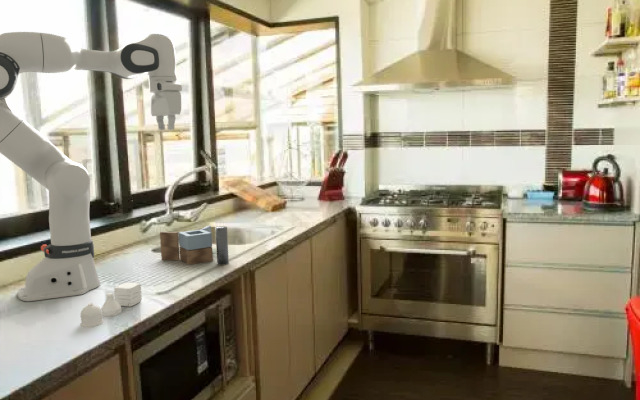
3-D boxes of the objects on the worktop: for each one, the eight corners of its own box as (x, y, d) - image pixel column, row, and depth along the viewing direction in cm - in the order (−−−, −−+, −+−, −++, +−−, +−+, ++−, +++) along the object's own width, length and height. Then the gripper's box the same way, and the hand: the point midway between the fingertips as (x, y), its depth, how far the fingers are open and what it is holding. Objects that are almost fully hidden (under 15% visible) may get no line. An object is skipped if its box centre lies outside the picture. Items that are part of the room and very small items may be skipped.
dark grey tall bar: (220, 265, 182) (218, 228, 181) (215, 263, 186) (213, 227, 184) (230, 263, 185) (228, 227, 183) (225, 261, 188) (224, 225, 186)
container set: (126, 300, 147) (124, 282, 146) (142, 302, 146) (141, 283, 145) (75, 327, 128) (74, 305, 127) (93, 329, 126) (92, 307, 126)
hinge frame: (174, 267, 181) (172, 238, 179) (160, 259, 192) (159, 232, 191) (212, 260, 189) (211, 233, 187) (198, 253, 200) (196, 227, 199)
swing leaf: (188, 263, 184) (187, 236, 182) (175, 256, 195) (173, 230, 194) (226, 257, 192) (225, 231, 190) (211, 250, 203) (209, 225, 202)
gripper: (144, 88, 175) (147, 130, 177) (163, 84, 159) (166, 129, 161) (163, 89, 179) (165, 129, 181) (183, 84, 162) (186, 129, 164)
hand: (166, 129), depth 171 cm, fingers open, 8 cm apart
